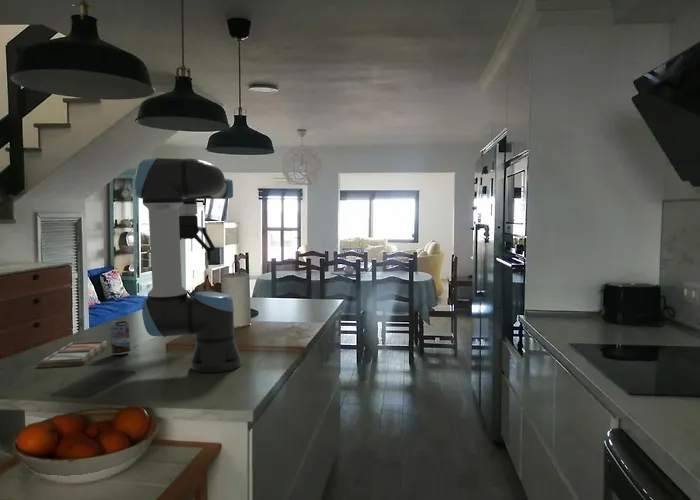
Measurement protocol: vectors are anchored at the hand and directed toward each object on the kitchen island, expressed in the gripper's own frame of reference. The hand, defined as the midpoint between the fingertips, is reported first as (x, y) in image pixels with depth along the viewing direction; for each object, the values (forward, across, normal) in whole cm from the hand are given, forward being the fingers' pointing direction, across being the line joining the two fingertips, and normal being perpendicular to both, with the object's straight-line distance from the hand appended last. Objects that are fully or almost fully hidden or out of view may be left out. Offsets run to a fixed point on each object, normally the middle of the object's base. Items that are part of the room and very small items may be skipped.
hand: (189, 269), depth 210 cm
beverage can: (+27, +20, +25) cm, 42 cm away
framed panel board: (+27, +35, +24) cm, 50 cm away
